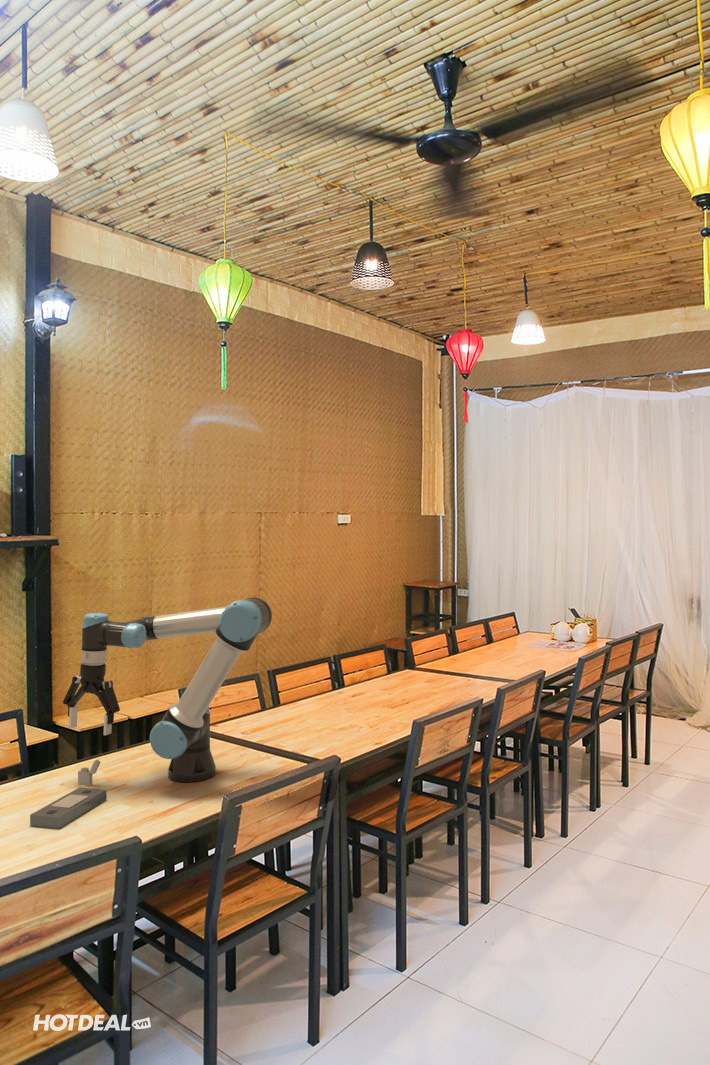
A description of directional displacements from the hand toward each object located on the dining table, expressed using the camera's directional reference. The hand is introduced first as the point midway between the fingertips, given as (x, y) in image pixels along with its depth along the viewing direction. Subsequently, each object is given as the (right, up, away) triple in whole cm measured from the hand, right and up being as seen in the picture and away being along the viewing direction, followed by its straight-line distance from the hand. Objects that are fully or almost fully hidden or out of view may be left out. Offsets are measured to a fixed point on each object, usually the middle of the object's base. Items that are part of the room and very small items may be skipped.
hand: (89, 730), depth 231 cm
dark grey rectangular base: (+3, -17, -23) cm, 28 cm away
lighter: (0, -17, 0) cm, 17 cm away
